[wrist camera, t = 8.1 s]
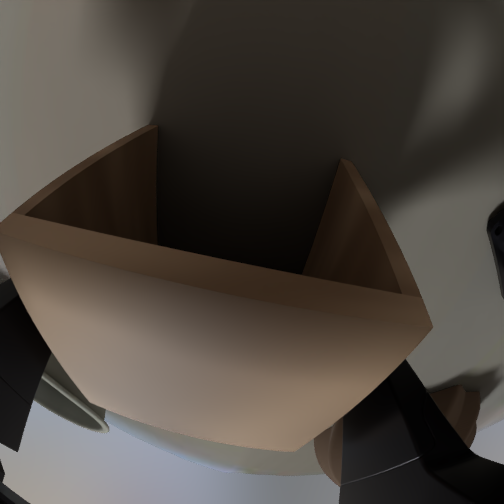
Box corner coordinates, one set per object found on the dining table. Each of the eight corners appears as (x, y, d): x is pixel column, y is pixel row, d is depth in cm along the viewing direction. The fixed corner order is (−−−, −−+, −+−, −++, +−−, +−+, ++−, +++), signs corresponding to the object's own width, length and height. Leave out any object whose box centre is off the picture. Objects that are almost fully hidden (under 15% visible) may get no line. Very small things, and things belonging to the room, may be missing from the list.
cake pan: (-52, 249, 17) (-73, 274, 13) (103, 342, 19) (80, 389, 15) (9, 357, 32) (-2, 377, 28) (129, 422, 34) (121, 446, 30)
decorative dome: (329, 453, 32) (326, 512, 24) (297, 411, 22) (288, 516, 14) (455, 425, 26) (462, 483, 18) (499, 359, 16) (524, 455, 8)
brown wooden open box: (351, 161, 9) (432, 327, 3) (298, 305, 13) (293, 452, 8) (148, 124, 9) (-8, 230, 3) (152, 275, 13) (89, 402, 8)
